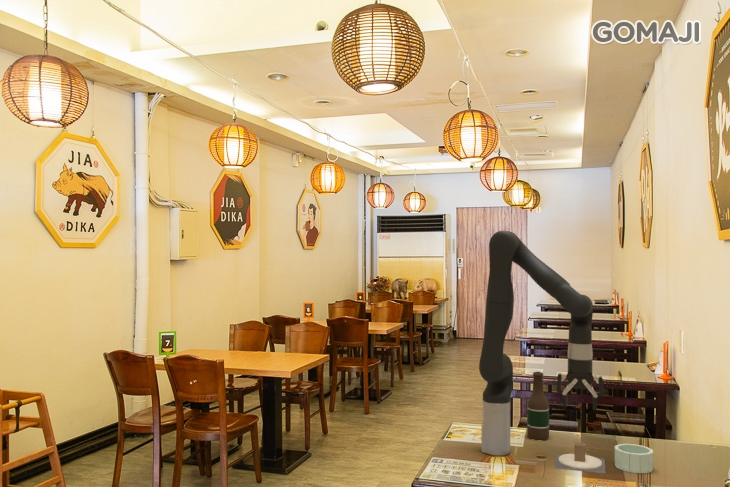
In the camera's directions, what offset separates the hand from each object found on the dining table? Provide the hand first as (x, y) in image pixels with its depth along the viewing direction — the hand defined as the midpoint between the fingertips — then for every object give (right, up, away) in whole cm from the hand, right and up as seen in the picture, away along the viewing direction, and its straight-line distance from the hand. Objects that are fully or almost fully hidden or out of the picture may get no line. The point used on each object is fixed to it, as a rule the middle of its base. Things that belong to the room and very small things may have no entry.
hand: (579, 407), depth 202 cm
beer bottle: (-5, -19, +29) cm, 35 cm away
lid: (0, -18, -1) cm, 18 cm away
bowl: (+16, -18, -4) cm, 24 cm away
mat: (0, -18, -1) cm, 18 cm away
